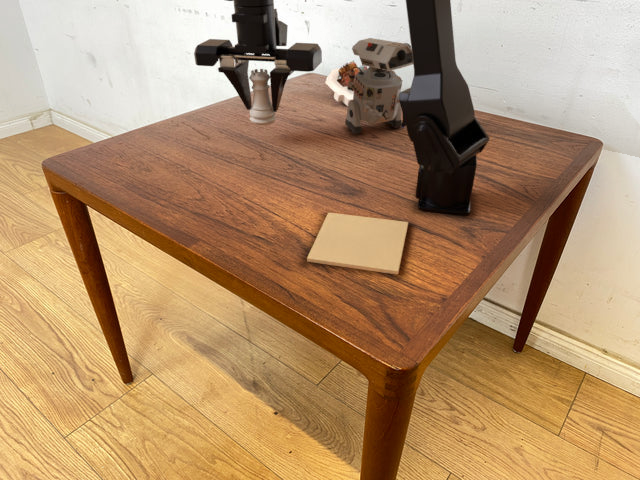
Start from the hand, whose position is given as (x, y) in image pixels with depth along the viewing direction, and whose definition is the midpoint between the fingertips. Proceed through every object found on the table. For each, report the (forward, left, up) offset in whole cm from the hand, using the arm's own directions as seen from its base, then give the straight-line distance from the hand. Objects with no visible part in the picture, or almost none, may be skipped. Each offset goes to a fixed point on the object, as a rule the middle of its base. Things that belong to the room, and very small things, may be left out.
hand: (262, 110), depth 79 cm
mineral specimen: (-10, -26, -5) cm, 28 cm away
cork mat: (-21, +26, -5) cm, 34 cm away
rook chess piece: (0, 0, -2) cm, 2 cm away
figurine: (-18, -8, -6) cm, 20 cm away
